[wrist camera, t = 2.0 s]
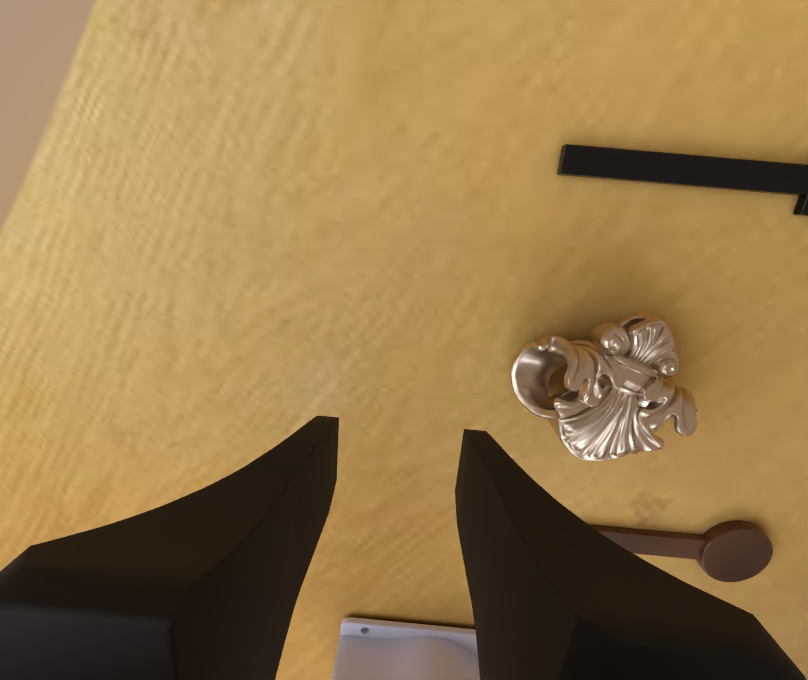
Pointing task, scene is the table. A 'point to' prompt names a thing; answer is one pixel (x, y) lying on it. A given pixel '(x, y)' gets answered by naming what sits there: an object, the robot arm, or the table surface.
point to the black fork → (687, 171)
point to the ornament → (607, 387)
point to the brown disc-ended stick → (703, 548)
